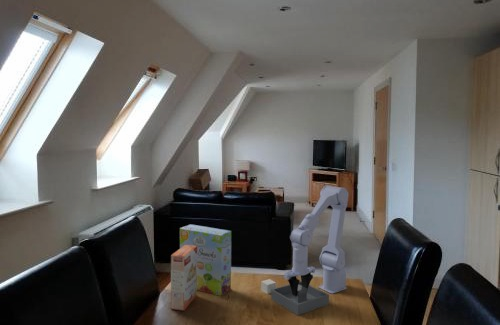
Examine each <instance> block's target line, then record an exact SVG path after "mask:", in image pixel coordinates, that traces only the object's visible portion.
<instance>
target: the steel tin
mask: <svg viewBox="0 0 500 325" xmlns="http://www.w3.org/2000/svg"><path fill="white" fill-rule="evenodd" d="M290 299H291V300H293V301H294V302H296V303H301V302H304V301H307V288H305V287H303V286H301V285H298V292H297V296H294V295H293V294H292V291H291V294H290Z"/></svg>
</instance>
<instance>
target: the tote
mask: <svg viewBox="0 0 500 325" xmlns="http://www.w3.org/2000/svg"><path fill="white" fill-rule="evenodd" d="M298 285H301V286H302V282H301V280H300V281H299V284H298ZM290 294H291V287H290V284H289V283H288V284H285V285H282V286H279V287H276V288H275V289H271V293H270V300H272V301H273V302H274V303H277V304H278V305H279V306H281V307H283V308H284V309H286V310H288V311H290V313H293V314H295V315H297V316H300V315H303V314H307V313H308V312H309V313H310V312H312V311H314V310H318V309H320V308H323V307H326V306H329V305H330V293H328V292H326V291H324V290H322V289H320V288H319V289H318V288H316V287H315V286H312V285H310V284H309V286H308V290H307V301H304V302H301V303H296V302H294V301H293V300H291V299H290ZM317 308H318V309H317Z"/></svg>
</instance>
